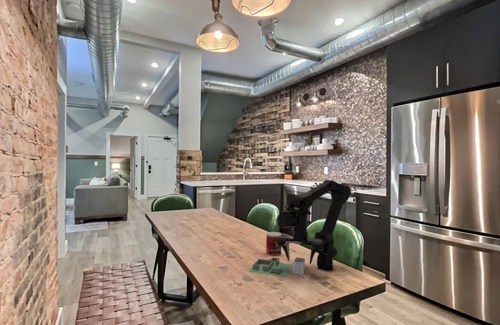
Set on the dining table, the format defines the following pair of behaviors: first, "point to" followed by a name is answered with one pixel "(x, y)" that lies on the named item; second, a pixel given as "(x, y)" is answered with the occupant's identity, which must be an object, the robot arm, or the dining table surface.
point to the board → (274, 268)
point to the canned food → (272, 244)
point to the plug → (299, 266)
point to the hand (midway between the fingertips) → (299, 262)
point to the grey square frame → (262, 261)
